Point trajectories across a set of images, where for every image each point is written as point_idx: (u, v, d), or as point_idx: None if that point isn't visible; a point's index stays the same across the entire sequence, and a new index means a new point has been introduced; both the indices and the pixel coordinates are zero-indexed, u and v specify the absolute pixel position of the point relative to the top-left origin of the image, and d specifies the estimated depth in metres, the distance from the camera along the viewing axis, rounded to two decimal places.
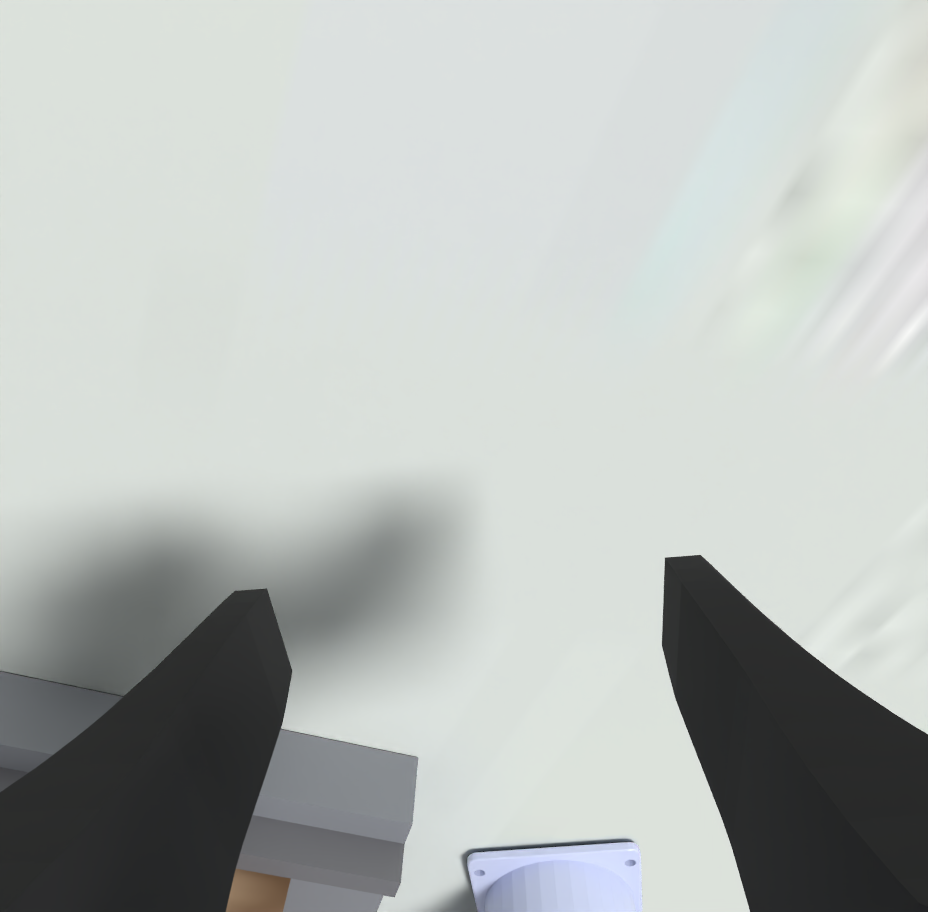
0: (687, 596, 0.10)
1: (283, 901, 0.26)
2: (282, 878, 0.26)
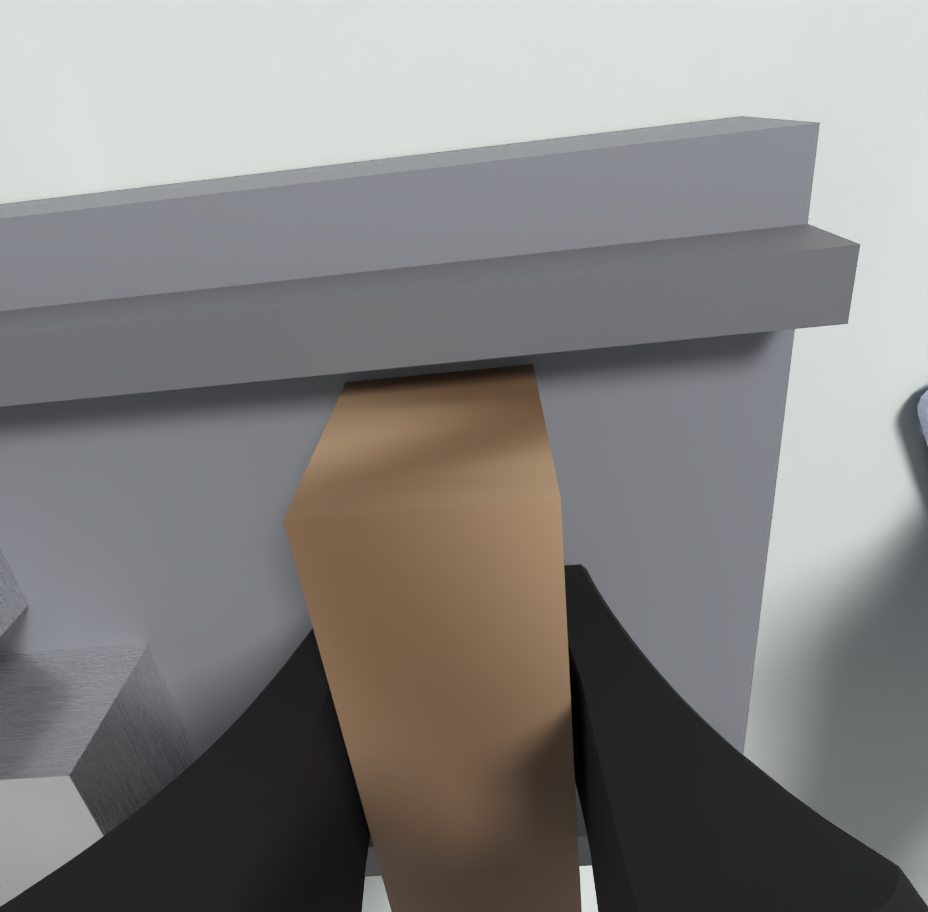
0: None
1: (538, 416, 0.09)
2: (517, 394, 0.10)
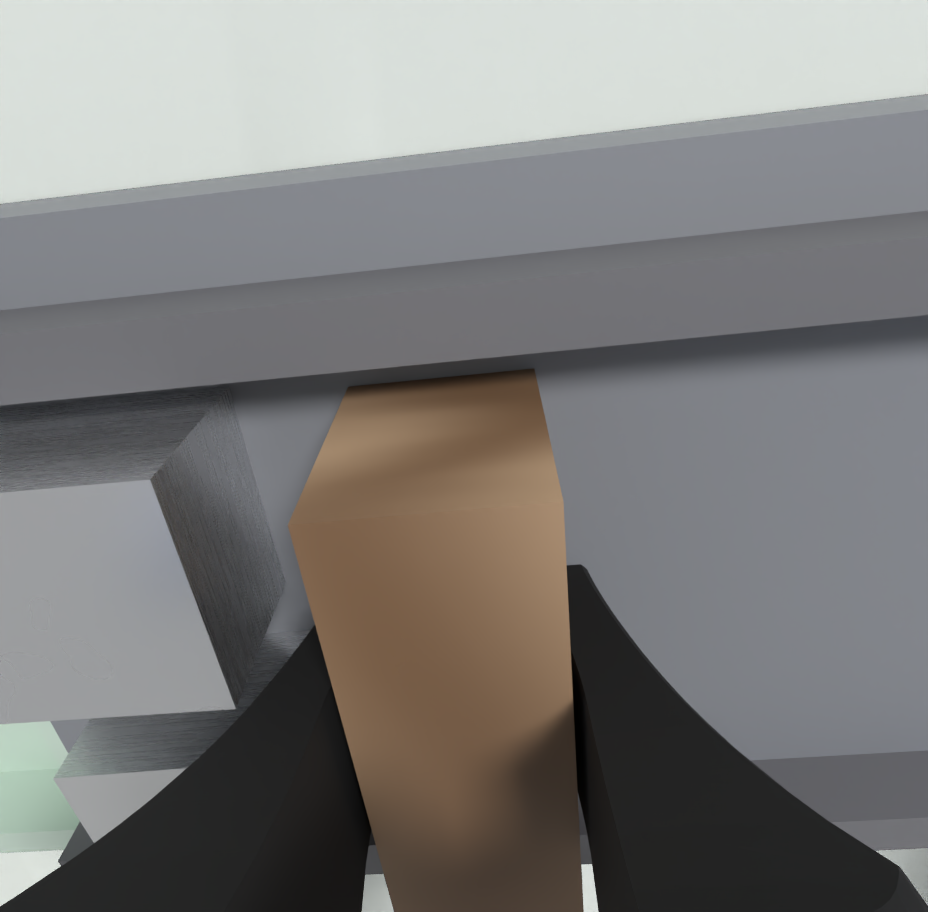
0: None
1: (540, 421, 0.09)
2: (519, 399, 0.10)
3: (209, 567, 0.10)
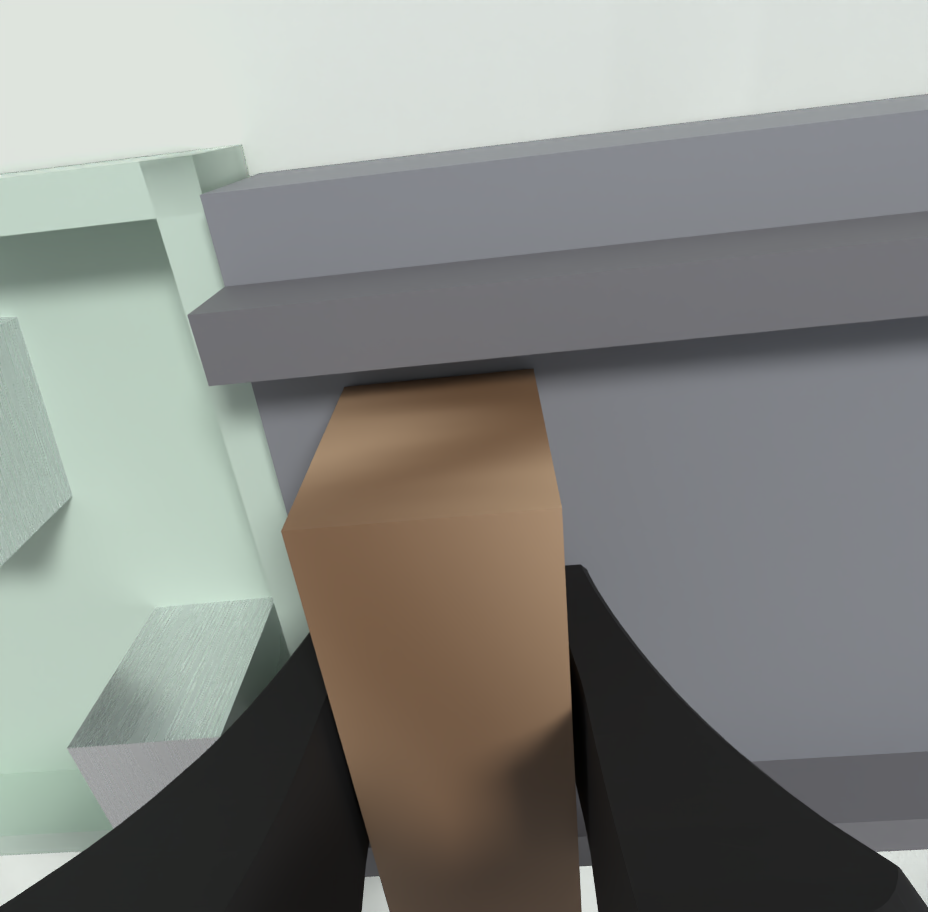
0: None
1: (539, 423, 0.09)
2: (517, 400, 0.10)
3: None
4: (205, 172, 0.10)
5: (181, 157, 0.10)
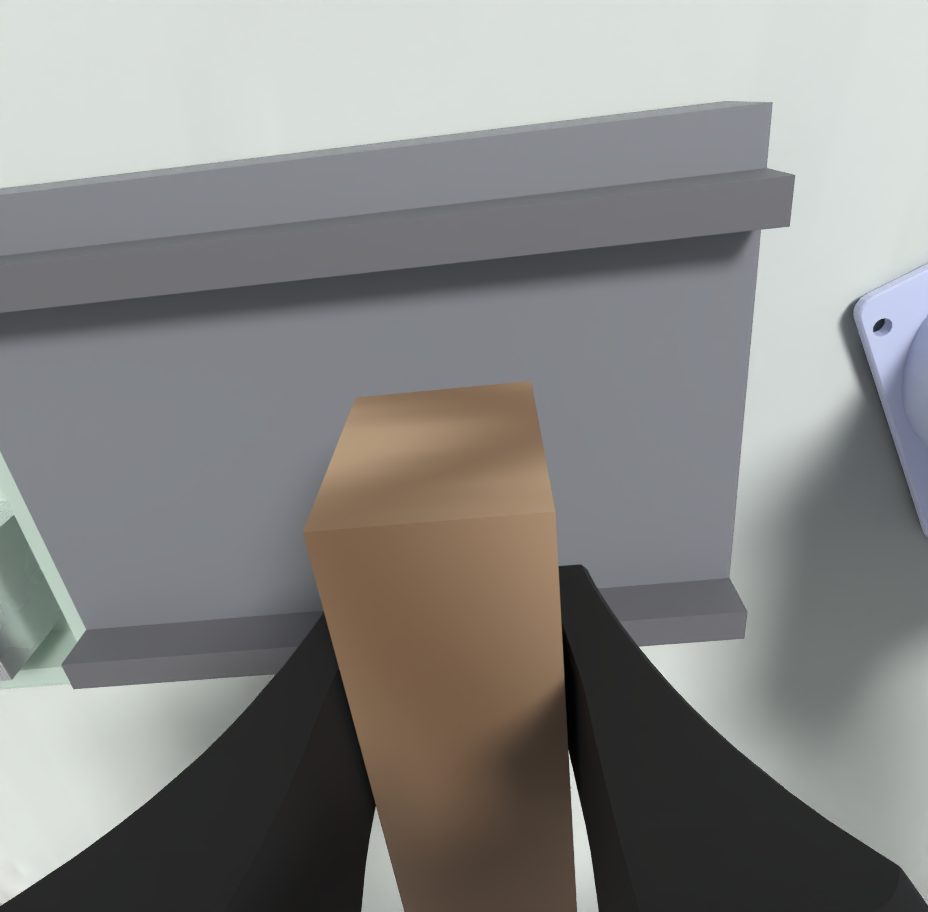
0: None
1: (536, 433, 0.10)
2: (516, 411, 0.10)
3: None
4: None
5: None
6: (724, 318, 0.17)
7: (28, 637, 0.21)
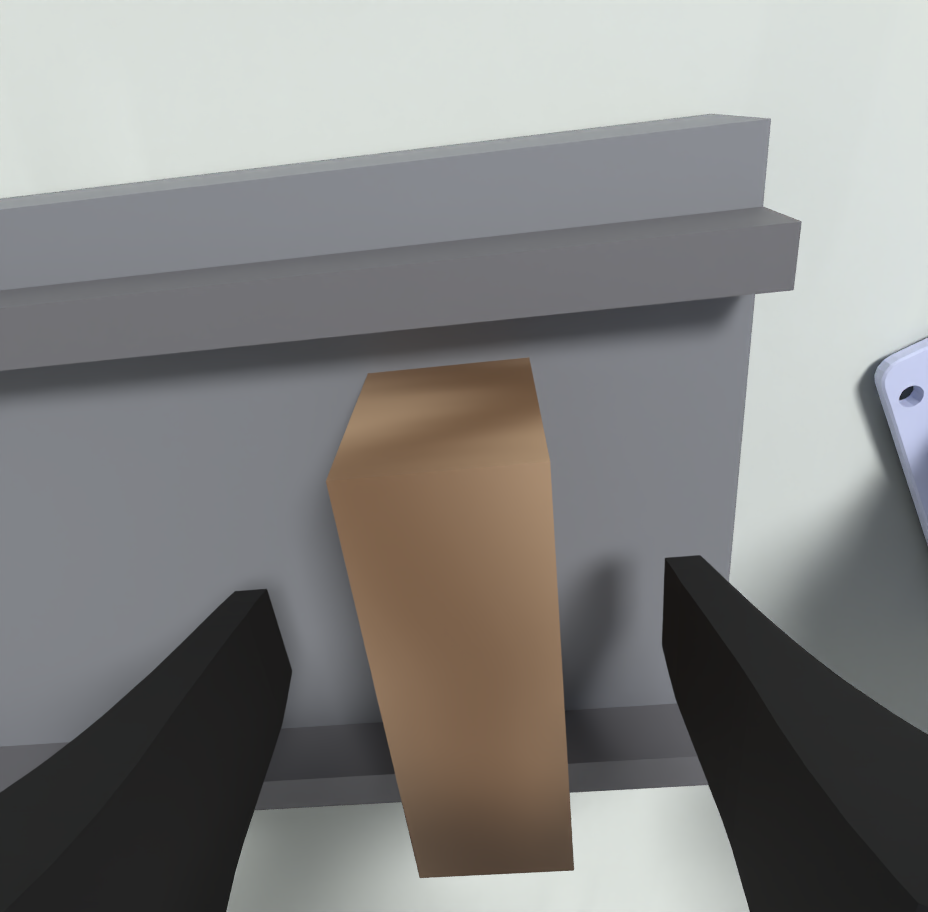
0: (687, 596, 0.10)
1: (533, 400, 0.11)
2: (515, 382, 0.11)
3: None
4: None
5: None
6: (708, 397, 0.13)
7: None
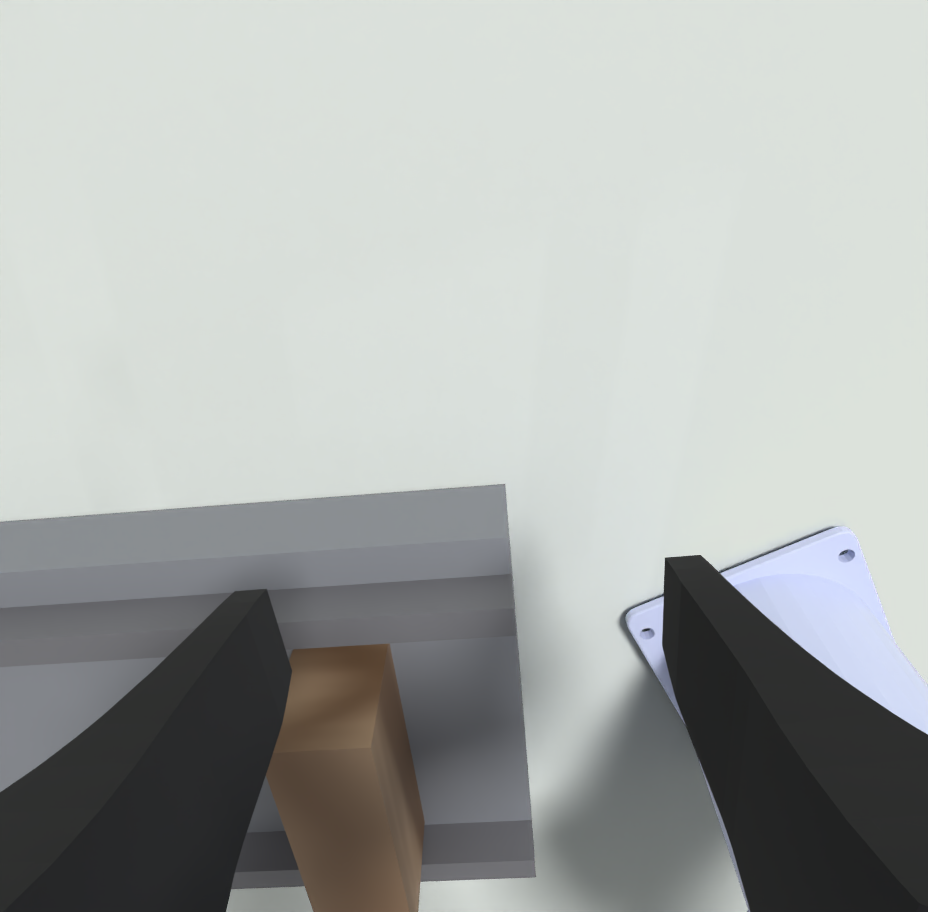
0: (687, 596, 0.10)
1: (378, 687, 0.19)
2: (373, 667, 0.20)
3: None
4: None
5: None
6: (496, 660, 0.22)
7: None
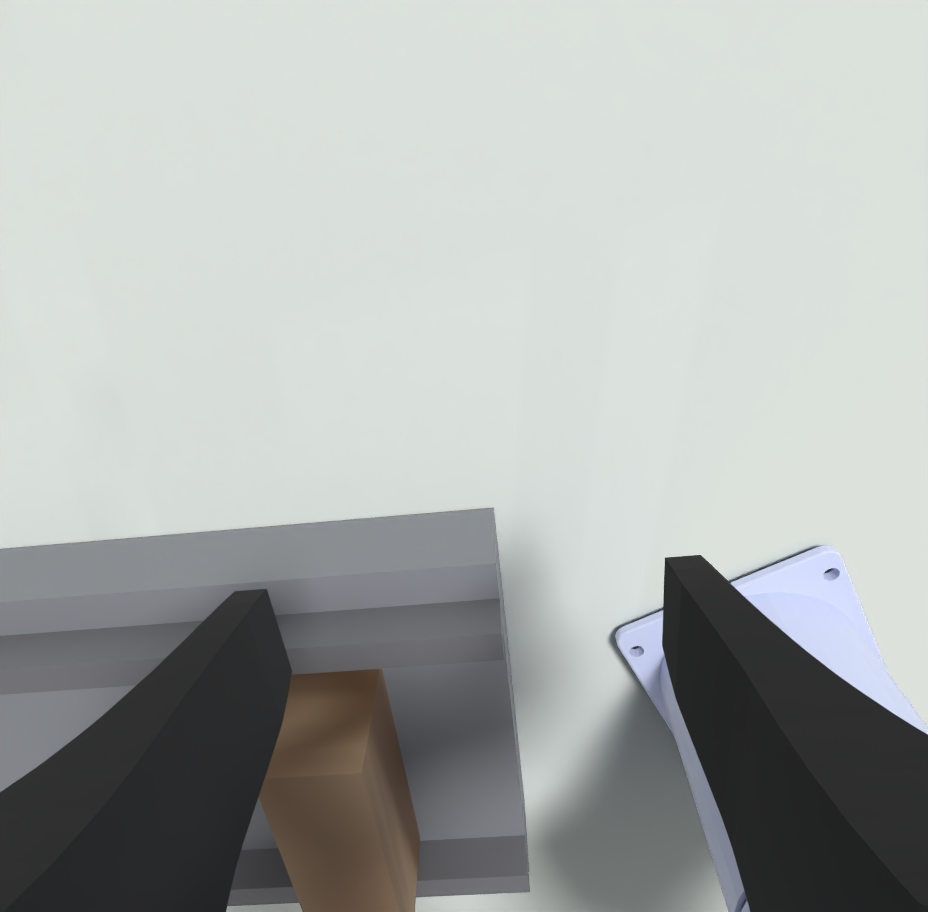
0: (687, 596, 0.10)
1: (369, 712, 0.20)
2: (365, 691, 0.21)
3: None
4: None
5: None
6: (487, 681, 0.22)
7: None
